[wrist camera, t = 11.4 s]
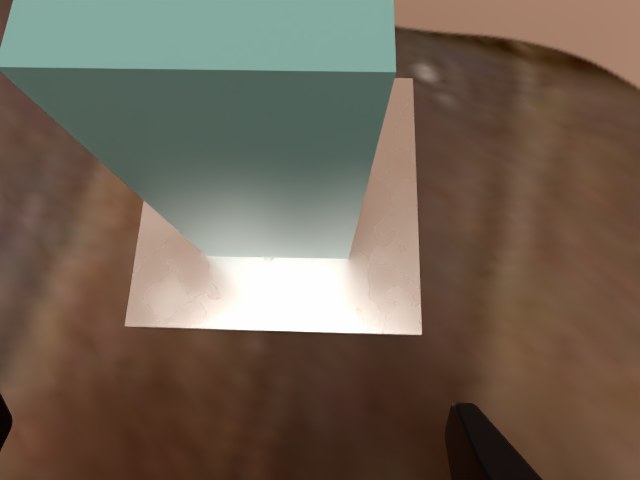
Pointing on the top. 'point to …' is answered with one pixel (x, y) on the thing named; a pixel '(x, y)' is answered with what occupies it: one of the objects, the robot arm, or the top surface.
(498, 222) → the top surface
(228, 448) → the top surface
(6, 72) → the tall mint green block
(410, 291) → the plate
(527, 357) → the top surface
